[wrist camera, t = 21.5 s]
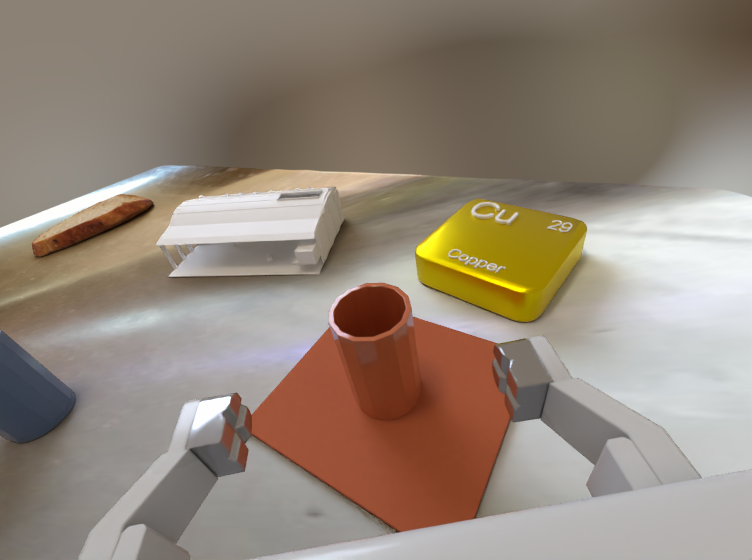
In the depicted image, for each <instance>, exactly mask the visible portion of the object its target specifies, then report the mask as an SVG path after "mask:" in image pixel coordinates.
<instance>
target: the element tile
mask: <svg viewBox="0 0 752 560" xmlns="http://www.w3.org/2000/svg"><path fill="white" fill-rule="evenodd" d="M586 233H587V227H586V225H585V224H584V222H582V221H580V220H577V219H574V218H570V217H565V216H560V215H556V214H551V213H546V212H541V211H537V210H532V209H527V208H522V207H518V206H513V205H508V204H503V203H499V202H494V201H489V200H482V199H475V200H473V201H471V202H469V203H467V204H465V205H464V206H463V207H462V208H461V209H460V210H458V211H457V212H456V213H455V214H454V215H453V216H451V217H450V218H449V219H448V220H447V221H445V222H444V223H443V224H442V225H441V226H440V227H438V228H437V229H436V230H435V231H434V232H433V233H431V234H430V235H429V236H428V237H427V238H426V239H424V240H423V241H422V242H421V243H420V244H419V245H418V246H417V247H416V250H415V257H416V266H417V275H418V279H419V280H420V281H421V282H422V283H423V284H425V285H427V286H430V287H432V288H435V289H437V290H439V291H442V292H444V293H447V294H449V295H452V296H454V297H457V298H459V299H462V300H464V301H467V302H469V303H472V304H474V305H477V306H479V307H482V308H484V309H487V310H489V311H492V312H494V313H497V314H499V315H502V316H504V317H507V318H509V319H512V320H515V321H520V322H529V321H533V320H535V319H537V318H538V317H539V316H541V315H542V313H543V312H544V310H545V309H546V307H547V306H548V305H549V303H550V302H551V300H552V299H553V297H554V296H555V294H556V293H557V291H558V290H559V288H560V287H561V286H562V284H563V283H564V281H565V280H566V278H567V277H568V275H569V274H570V272H571V271H572V269H573V268H574V267H575V265H576V264H577V262H578V261H579V259H580V258H581V254H582V249H583V245H584V241H585V237H586Z"/></svg>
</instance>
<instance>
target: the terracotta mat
mask: <svg viewBox="0 0 752 560" xmlns="http://www.w3.org/2000/svg"><path fill="white" fill-rule="evenodd" d="M413 323H414V331H415V339H416V346H417V354H418V361H419V369H420V377H421V384H422V386H421V395H420V398H419V400H418V402H417V404H416V405H415V407H414V408H413V409H412V410H411V411H410V412H409V413H407V414H406V415H404V416H402V417H400V418H397V419H393V420H378V419H375V418H372V417H370V416H368V415H366V414H365V413H364V412H363V411H362V410H361V409H360V408H359V406H358V405H357V402H356V400H355V399H354V396H353V393H352V390H351V387H350V384H349V381H348V378H347V376H346V373H345V370H344V367H343V364H342V361H341V358H340V355H339V352H338V349H337V346H336V343H335V340H334V337H333V334H332V331H331V329H330V327H329V328H328V330H327V331H326V332H325V333H324V334H323V335H322V336H321V337H320V339H319V340H318V341H317V342H316V343H315V344H314V345H313V346H312V348H311V349H310V350H309V351H308V352H307V353H306V354H305V355H304V357H303V358H302V359H301V360H300V361H299V362H298V363H297V364H296V366H295V367H294V368H293V369H292V370H291V371H290V372H289V373H288V375H287V376H286V377H285V378H284V379H283V380H282V381H281V382H280V384H279V385H278V386H277V387H276V388H275V389H274V390H273V391H272V393H271V394H270V395H269V396H268V397H267V398H266V399H265V401H264V402H263V403H262V404H261V405H260V406H259V407H258V408H257V410H256V411H255V412H254V413H253V414H252V415H251V417H252V432H251V435H253V436H254V437H256V438H257V439H259V440H260V441H262V442H263V443H265V444H266V445H268V446H269V447H271V448H272V449H274V450H275V451H277V452H278V453H280V454H281V455H283V456H285V457H286V458H288V459H289V460H291V461H292V462H294V463H295V464H297V465H298V466H300V467H301V468H303V469H304V470H306V471H307V472H309V473H310V474H312V475H313V476H315V477H316V478H318V479H319V480H321V481H322V482H324V483H325V484H327V485H328V486H330V487H331V488H333V489H334V490H336V491H337V492H339V493H340V494H342V495H343V496H345V497H346V498H348V499H350V500H351V501H353V502H354V503H356V504H357V505H359V506H360V507H362V508H363V509H365V510H366V511H368V512H369V513H371V514H372V515H374V516H375V517H377V518H378V519H380V520H381V521H383V522H384V523H386V524H387V525H389V526H390V527H392V528H393V529H395V530H396V531H398V532H404V531H409V530H415V529H420V528H426V527H431V526H437V525H443V524H448V523H454V522H459V521H465V520H470V519H475V516H476V513H477V510H478V507H479V505H480V502H481V499H482V496H483V494H484V491H485V488H486V485H487V482H488V480H489V477H490V474H491V471H492V468H493V466H494V463H495V460H496V457H497V455H498V452H499V449H500V446H501V443H502V441H503V438H504V435H505V432H506V430H507V427H508V424H509V421H510V418H511V417H510V415H509V413H508V411H507V408H506V406H505V404H504V400H505V395H504V394H503V393H501V392H500V391H499V390H498V388H497V385H496V383H495V380H494V377H493V371H492V361H493V360H494V359H495V356H494V353H493V347H494V345H495V344H497V343H494V342H491V341H488V340H485V339H482V338H478V337H475V336H472V335H469V334H466V333H463V332H460V331H456V330H453V329H450V328H447V327H444V326H441V325H437V324H434V323H431V322H428V321H425V320H422V319H419V318H415V317H413Z"/></svg>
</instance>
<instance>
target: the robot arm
mask: <svg viewBox="0 0 752 560" xmlns="http://www.w3.org/2000/svg"><path fill="white" fill-rule="evenodd" d="M493 353H494V356H495V359H494V360H493V361H492V371H493V377H494V380H495V383H496V385H497V388H498V390H499V391H500V392H501V393H503V394H504V395H505V400H504V404H505V406H506V408H507V411H508V413H509V415H510V417H511V420H512V422H520V421H526V420H533V419H539V418H541V420H542V421H543V422H544V423H545V424H546V425H547V426H549V427H550V428H551V429H552V430H553V431H555V432H556V433H557V434H558V435H559V436H561V437H562V438H563V439H564V440H565V441H567V442H568V443H569V444H570V445H571V446H572V447H574V448H575V449H576V450H577V451H578V452H580V453H581V454H582V455H583V456H584V457H586V458H587V459H588V460H589V461H590V462H592V463H593V464H594V465H595V467H594V469H593V471H592V473H591V475H590V477H589V479H588V481H587V484H586V485H587V487H588V489H589V491H590V493H591V495H592V497H593V498H587V499H582V500H576V501H571V502H565V503H560V504H554V505H548V506H543V507H537V508H532V509H526V510H521V511H515V512H509V513H504V514H498V515H493V516H487V517H482V518H476V519H470V520H465V521H459V522H454V523H448V524H443V525H437V526H431V527H426V528H420V529H415V530H409V531H404V532H398V533H393V534H387V535H381V536H376V537H370V538H365V539H359V540H354V541H348V542H343V543H337V544H331V545H326V546H320V547H315V548H309V549H304V550H298V551H293V552H287V553H281V554H276V555H270V556H265V557H259V558H254V559H248V560H752V469H749V470H743V471H738V472H732V473H727V474H721V475H715V476H710V477H704V478H702V477H701V476H700V474H699V473H698V472H697V471H696V469H695V468H694V467H693V465H692V464H691V463H690V462H689V460H688V459H687V458H686V456H685V455H684V454H683V453H682V451H681V450H680V449H679V447H678V446H677V445H676V444H675V442H674V441H673V440H672V438H671V437H670V436H669V435H668V433H667V432H666V431H665V429H664V428H662V427H660V426H659V425H657V424H655V423H654V422H652V421H650V420H649V419H647V418H645V417H644V416H642V415H640V414H639V413H637V412H635V411H633V410H632V409H630V408H628V407H627V406H625V405H623V404H622V403H620V402H618V401H617V400H615V399H613V398H611V397H610V396H608V395H606V394H605V393H603V392H601V391H600V390H598V389H596V388H595V387H593V386H591V385H590V384H588V383H586V382H584V381H583V380H581V379H579V378H573V377H572V376H571V374H570V373H569V371H568V370H567V368H566V367H565V365H564V364H563V362H562V361H561V359H560V358H559V356H558V355H557V353H556V351H555V350H554V348H553V347H552V345H551V344H550V342H549V341H548V339H547V338H546V337H545V336H538V337H533V338H527V339H520V340H515V341H510V342H505V343H500V344H495V345H494V347H493ZM251 432H252V417H251V413H250V411H249V409H248V408H247V407H246V406H244V405H242V404H241V397H240V396H239V395H238V393H233V394H227V395H220V396H214V397H208V398H202V399H196V400H190V401H187V402H186V403H185V404H184V406H183V408H182V410H181V413H180V416H179V419H178V422H177V424H176V427H175V430H174V433H173V436H172V439H171V441H170V444H169V447H168V450H167V453H164V454H161V455H160V456H159V457H158V459H157V460H156V461H155V462H154V463H153V464H152V465H151V466H150V467H149V468H148V469H147V470H146V472H145V473H144V474H143V475H142V476H141V477H140V478H139V479H138V480H137V481H136V482H135V483H134V485H133V486H132V487H131V488H130V489H129V490H128V491H127V492H126V493H125V494H124V495H123V497H122V498H121V499H120V500H119V501H118V502H117V503H116V504H115V505H114V506H113V507H112V508H111V510H110V511H109V512H108V513H107V514H106V515H105V516H104V517H103V518H102V519H101V520H100V521H99V523H98V524H97V525H96V526H95V527H94V528H93V529H92V530H91V531H90V533H89V535H88V538H87V540H86V542H85V544H84V547H83V549H82V551H81V553H80V556H79V558H78V560H190V555H189V553H188V552H187V551H186V550H184V549H183V548H181V547H180V546H178V545H176V543H177V541H178V540H179V538H180V537H181V535H182V533H183V532H184V530H185V529H186V527H187V526H188V524H189V523H190V521H191V520H192V518H193V517H194V515H195V513H196V512H197V510H198V509H199V507H200V506H201V504H202V503H203V501H204V500H205V498H206V496H207V495H208V493H209V492H210V490H211V489H212V487H213V486H214V484H215V483H216V481H217V480H218V478H217V477H221V476H225V475H230V474H235V473H240V472H244V471H245V467H246V461H247V456H248V448H247V447H246V445H245V443H246V442H247V440H248V439H249V438H250V437H251Z"/></svg>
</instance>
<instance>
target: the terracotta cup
mask: <svg viewBox="0 0 752 560" xmlns="http://www.w3.org/2000/svg"><path fill="white" fill-rule="evenodd" d="M329 326H330V329H331V331H332V334H333V337H334V340H335V343H336V346H337V349H338V352H339V355H340V358H341V361H342V364H343V367H344V370H345V373H346V376H347V378H348V381H349V384H350V387H351V390H352V393H353V396H354V399H355V400H356V402H357V405H358V406H359V408H360V409H361V410H362V411H363V412H364V413H365V414H366V415H368V416H370V417H372V418H375V419H378V420H393V419H397V418H400V417H402V416H404V415H406V414H407V413H409V412H410V411H411V410H412V409H413V408H414V407H415V405H416V404H417V402H418V400H419V398H420V395H421V386H422V384H421V377H420V369H419V361H418V354H417V346H416V339H415V331H414V323H413V316H412V308H411V304H410V301H409V297H408V295H406V294H405V293H404V292H403V291H402V290H401V289H399V288H398V287H396V286H392V285H389V284H385V283H366V284H363V285H360V286H357V287H354V288H351V289H349V290H347V291H346V292H345V293H343V294H342V295H341V296H339V297H338V298H337V299H336V300H335V302H334V303H333V305H332V307H331V308H330V310H329Z"/></svg>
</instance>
